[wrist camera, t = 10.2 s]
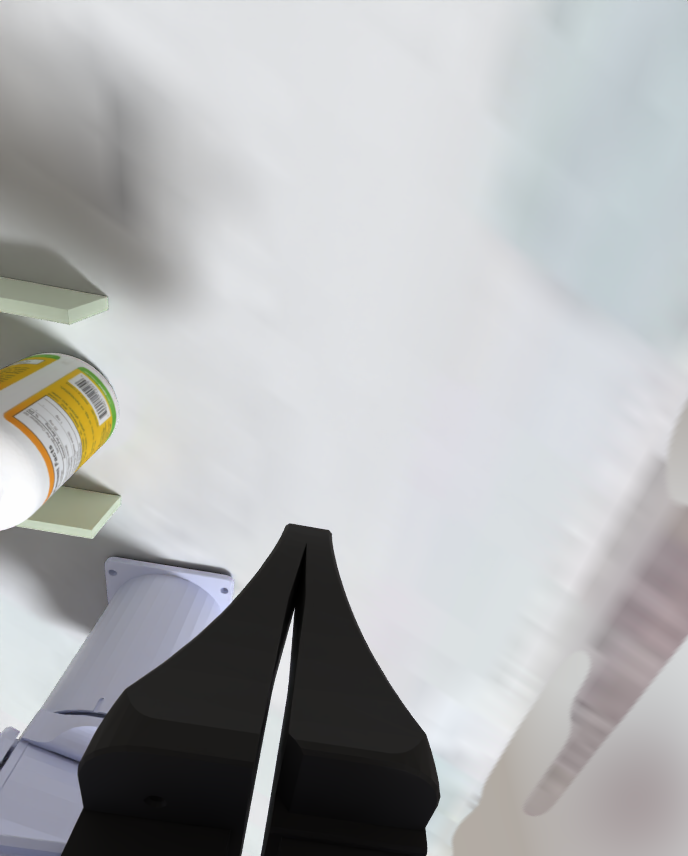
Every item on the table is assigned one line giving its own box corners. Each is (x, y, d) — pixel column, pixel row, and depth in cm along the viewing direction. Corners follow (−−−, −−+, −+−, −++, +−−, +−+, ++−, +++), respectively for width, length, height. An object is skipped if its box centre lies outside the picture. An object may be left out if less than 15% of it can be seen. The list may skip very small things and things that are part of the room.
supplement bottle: (4, 419, 23) (-202, 548, 14) (24, 330, 21) (-204, 416, 12) (107, 461, 24) (-25, 603, 15) (135, 380, 22) (1, 492, 13)
